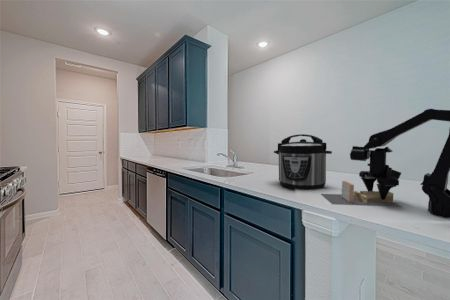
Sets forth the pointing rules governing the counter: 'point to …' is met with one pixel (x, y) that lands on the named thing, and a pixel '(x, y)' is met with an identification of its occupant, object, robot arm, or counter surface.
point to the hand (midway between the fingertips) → (376, 196)
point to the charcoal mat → (354, 201)
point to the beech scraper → (372, 196)
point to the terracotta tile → (348, 191)
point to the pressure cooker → (302, 163)
